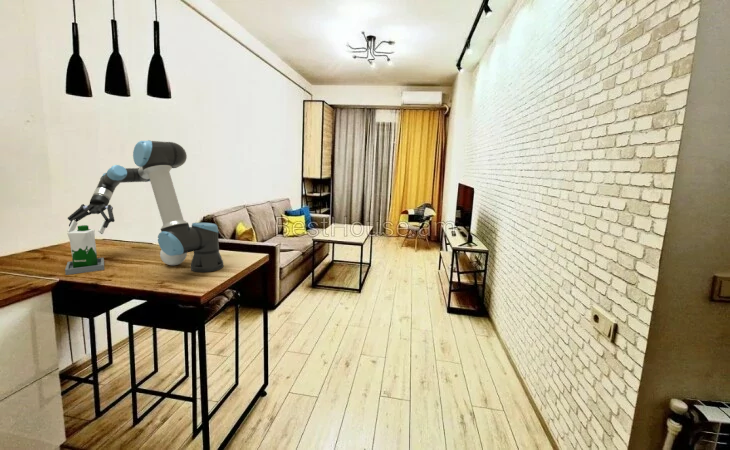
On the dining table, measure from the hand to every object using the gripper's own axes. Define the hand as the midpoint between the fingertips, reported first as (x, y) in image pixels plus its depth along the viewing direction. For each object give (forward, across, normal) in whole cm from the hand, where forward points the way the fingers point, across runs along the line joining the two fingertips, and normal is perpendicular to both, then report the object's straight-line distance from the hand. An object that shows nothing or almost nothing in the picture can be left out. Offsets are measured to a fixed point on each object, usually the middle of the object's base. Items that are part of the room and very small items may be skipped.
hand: (85, 232), depth 164 cm
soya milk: (+14, 0, -9) cm, 17 cm away
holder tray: (+14, 0, -10) cm, 17 cm away
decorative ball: (+11, -39, -13) cm, 43 cm away
